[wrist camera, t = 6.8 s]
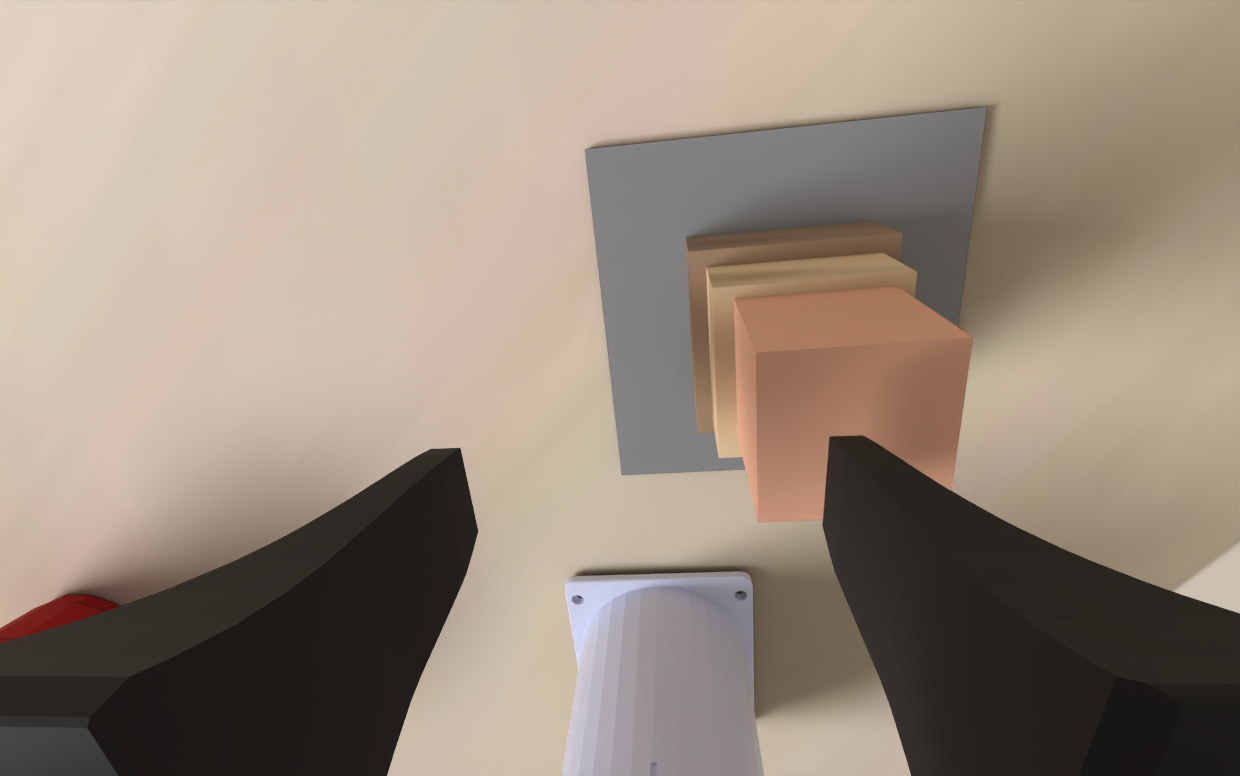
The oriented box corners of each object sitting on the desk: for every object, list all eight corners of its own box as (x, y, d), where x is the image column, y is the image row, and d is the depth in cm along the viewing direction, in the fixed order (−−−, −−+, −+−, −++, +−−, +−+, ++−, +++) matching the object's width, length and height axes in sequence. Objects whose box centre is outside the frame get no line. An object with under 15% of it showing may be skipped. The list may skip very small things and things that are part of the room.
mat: (936, 456, 22) (940, 460, 22) (622, 471, 24) (621, 475, 23) (981, 107, 18) (986, 106, 17) (585, 149, 19) (584, 149, 19)
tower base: (862, 391, 21) (886, 423, 19) (694, 402, 22) (697, 433, 20) (873, 220, 19) (902, 233, 17) (685, 237, 19) (688, 251, 17)
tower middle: (871, 410, 19) (899, 449, 16) (712, 419, 19) (718, 458, 17) (882, 252, 17) (917, 271, 15) (706, 267, 17) (712, 288, 15)
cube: (896, 285, 15) (972, 337, 11) (884, 428, 16) (948, 514, 13) (733, 299, 15) (755, 352, 11) (737, 436, 17) (758, 522, 13)
